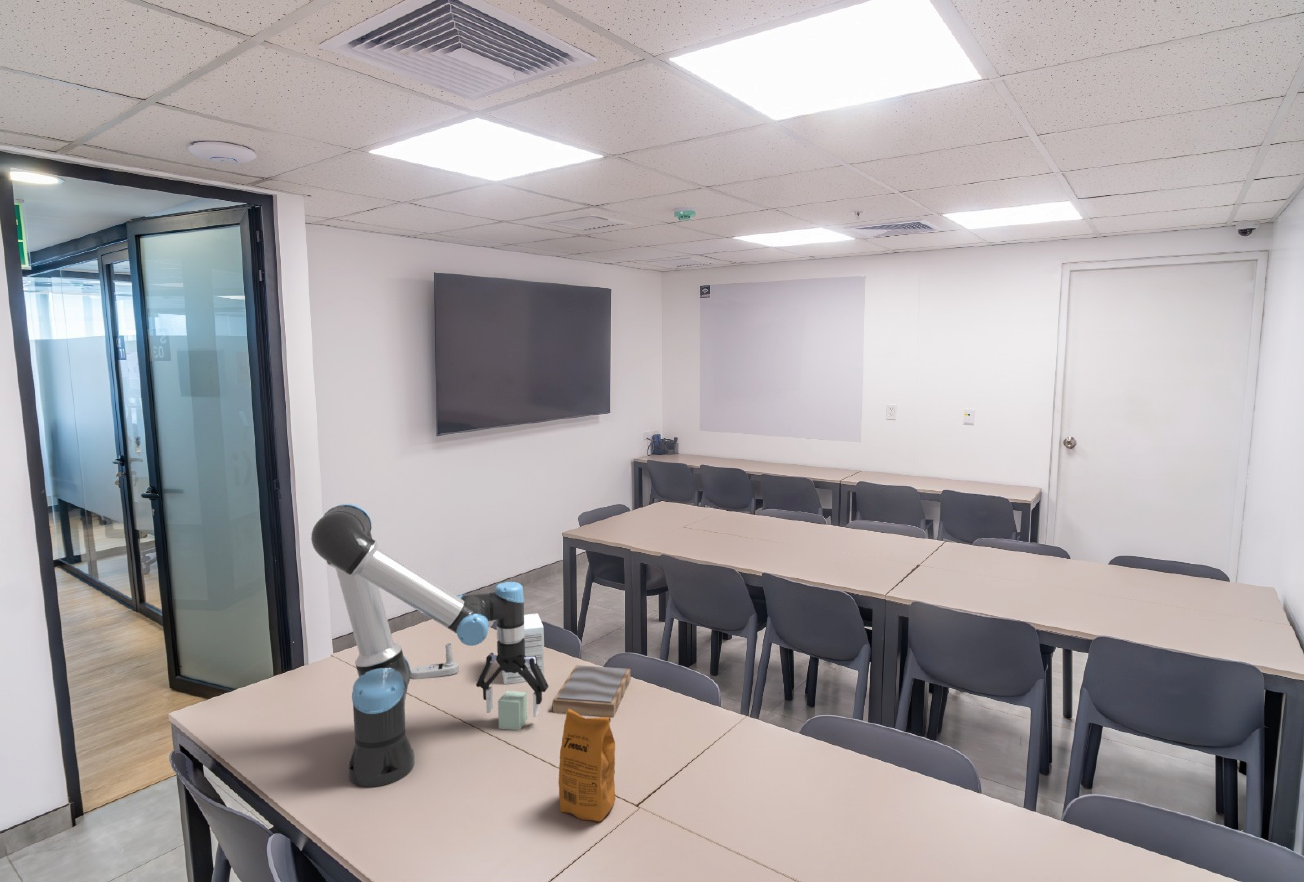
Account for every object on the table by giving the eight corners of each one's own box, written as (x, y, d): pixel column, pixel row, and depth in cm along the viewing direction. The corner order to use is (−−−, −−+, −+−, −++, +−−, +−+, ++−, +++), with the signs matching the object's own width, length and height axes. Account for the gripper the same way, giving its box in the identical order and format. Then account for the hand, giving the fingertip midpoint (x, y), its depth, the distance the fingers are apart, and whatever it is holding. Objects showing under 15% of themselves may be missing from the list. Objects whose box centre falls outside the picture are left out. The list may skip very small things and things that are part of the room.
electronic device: (409, 645, 220) (457, 640, 224) (411, 674, 222) (459, 668, 225) (407, 652, 215) (456, 646, 219) (409, 681, 216) (458, 675, 220)
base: (613, 717, 192) (613, 703, 192) (553, 712, 195) (552, 698, 195) (630, 679, 216) (630, 667, 215) (576, 675, 219) (576, 664, 218)
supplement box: (499, 668, 225) (498, 617, 223) (539, 662, 229) (538, 612, 227) (503, 685, 212) (501, 631, 211) (545, 679, 216) (544, 626, 215)
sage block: (519, 730, 185) (518, 702, 184) (498, 728, 186) (497, 700, 185) (527, 719, 191) (526, 692, 190) (507, 717, 192) (506, 690, 191)
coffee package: (575, 787, 159) (573, 698, 157) (621, 801, 154) (620, 709, 152) (551, 811, 151) (549, 717, 148) (599, 827, 145) (598, 730, 143)
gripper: (558, 636, 188) (559, 709, 190) (474, 631, 192) (476, 702, 194) (549, 647, 181) (551, 723, 183) (462, 641, 185) (465, 715, 187)
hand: (512, 712), depth 188 cm, fingers open, 13 cm apart
